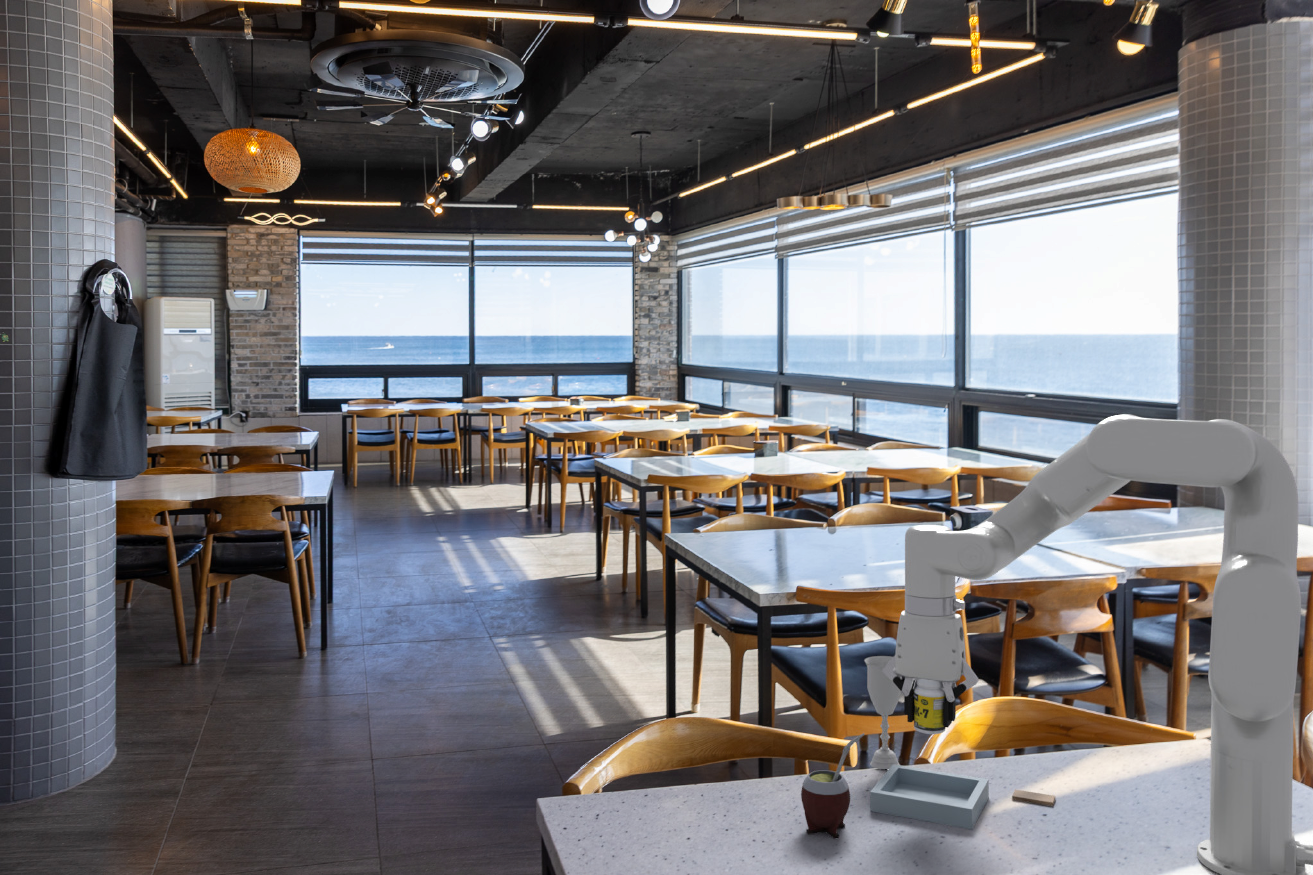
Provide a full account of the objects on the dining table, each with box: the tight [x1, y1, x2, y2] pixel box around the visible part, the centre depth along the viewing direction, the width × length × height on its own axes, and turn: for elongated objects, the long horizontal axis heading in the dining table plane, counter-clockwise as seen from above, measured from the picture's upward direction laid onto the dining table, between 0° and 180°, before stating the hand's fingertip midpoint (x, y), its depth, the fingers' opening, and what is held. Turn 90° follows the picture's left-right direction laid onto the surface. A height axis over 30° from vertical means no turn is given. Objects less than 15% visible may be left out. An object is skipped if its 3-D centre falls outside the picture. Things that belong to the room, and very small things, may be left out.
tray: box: [869, 764, 990, 830], centre depth 160 cm, size 15×13×3 cm
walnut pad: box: [1011, 789, 1056, 807], centre depth 161 cm, size 6×3×1 cm, turn 62°
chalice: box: [863, 655, 902, 770], centre depth 177 cm, size 7×7×18 cm
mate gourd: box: [800, 732, 865, 840], centre depth 151 cm, size 8×8×15 cm
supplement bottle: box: [913, 679, 946, 735], centre depth 159 cm, size 5×5×8 cm
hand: (929, 721), depth 160 cm, fingers closed on supplement bottle, 4 cm apart
